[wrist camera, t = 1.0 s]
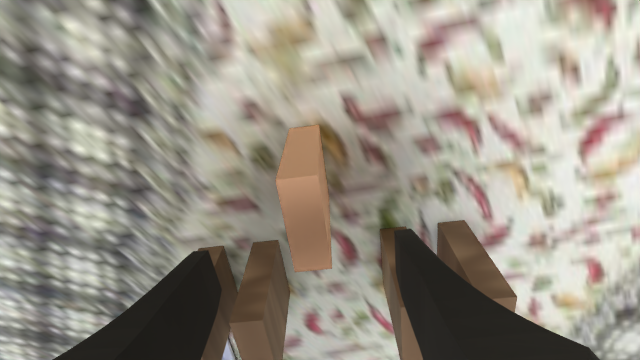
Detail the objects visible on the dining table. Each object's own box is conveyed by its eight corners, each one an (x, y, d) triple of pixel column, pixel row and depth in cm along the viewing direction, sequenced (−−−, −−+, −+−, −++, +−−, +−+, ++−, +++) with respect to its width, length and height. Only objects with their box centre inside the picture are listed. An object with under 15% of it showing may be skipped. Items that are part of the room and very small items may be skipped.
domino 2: (278, 240, 24) (262, 320, 18) (290, 292, 26) (279, 380, 20) (253, 242, 24) (229, 323, 18) (267, 294, 26) (250, 382, 20)
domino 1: (223, 245, 24) (189, 327, 18) (239, 297, 27) (214, 385, 20) (198, 248, 24) (156, 330, 18) (217, 299, 27) (185, 387, 20)
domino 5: (464, 220, 23) (517, 297, 17) (460, 275, 26) (506, 362, 19) (437, 222, 23) (480, 300, 17) (436, 278, 26) (473, 364, 19)
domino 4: (405, 226, 24) (436, 304, 17) (407, 281, 26) (434, 367, 19) (379, 229, 24) (400, 307, 17) (383, 283, 26) (403, 370, 20)
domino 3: (319, 124, 20) (318, 175, 14) (329, 197, 23) (331, 268, 16) (289, 128, 20) (275, 180, 14) (302, 200, 23) (294, 272, 16)
